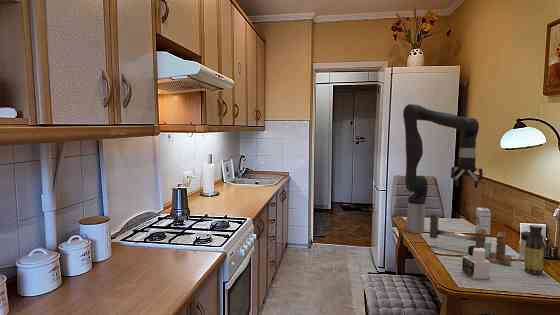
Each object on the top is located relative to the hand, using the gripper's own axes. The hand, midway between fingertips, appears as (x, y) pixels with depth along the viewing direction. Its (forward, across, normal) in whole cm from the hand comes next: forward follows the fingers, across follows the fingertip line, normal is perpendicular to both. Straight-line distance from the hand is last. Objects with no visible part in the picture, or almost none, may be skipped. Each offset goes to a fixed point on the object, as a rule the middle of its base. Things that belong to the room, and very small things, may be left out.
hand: (465, 187), depth 168 cm
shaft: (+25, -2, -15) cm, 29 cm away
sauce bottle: (+30, +29, -22) cm, 47 cm away
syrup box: (+30, +6, +26) cm, 40 cm away
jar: (+30, +28, -6) cm, 42 cm away
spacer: (+29, +12, -15) cm, 35 cm away
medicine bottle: (+30, +10, -40) cm, 51 cm away
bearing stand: (+30, +13, -15) cm, 36 cm away
